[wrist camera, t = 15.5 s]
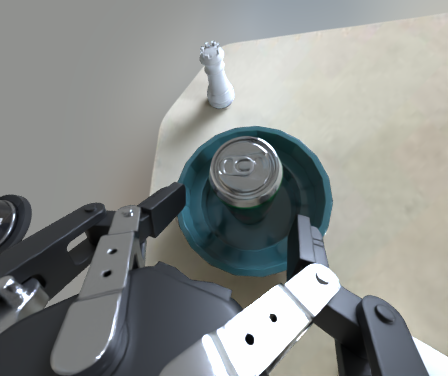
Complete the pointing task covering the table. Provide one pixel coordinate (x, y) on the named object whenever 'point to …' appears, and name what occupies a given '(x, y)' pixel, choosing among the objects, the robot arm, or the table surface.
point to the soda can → (246, 177)
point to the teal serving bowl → (275, 219)
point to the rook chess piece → (216, 76)
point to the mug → (432, 359)
